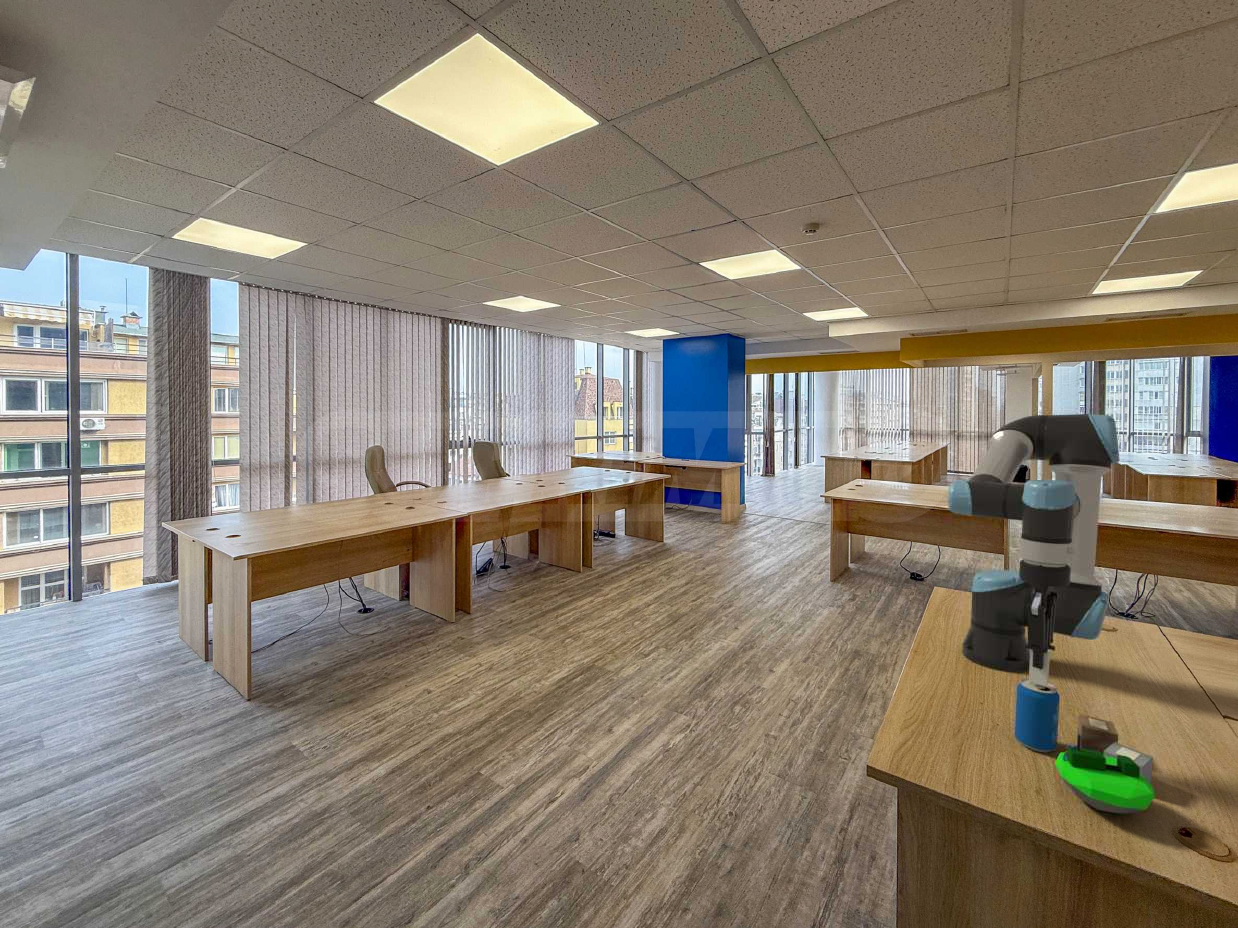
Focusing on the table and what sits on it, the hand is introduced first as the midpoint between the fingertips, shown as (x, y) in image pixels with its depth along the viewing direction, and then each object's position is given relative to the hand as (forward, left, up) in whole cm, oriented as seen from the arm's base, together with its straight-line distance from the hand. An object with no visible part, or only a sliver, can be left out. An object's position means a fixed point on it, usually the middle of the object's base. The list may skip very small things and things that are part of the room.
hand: (1038, 682), depth 102 cm
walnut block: (+8, +7, -13) cm, 17 cm away
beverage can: (0, 0, -13) cm, 13 cm away
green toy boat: (+11, -11, -13) cm, 21 cm away
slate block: (+13, -1, -13) cm, 18 cm away
